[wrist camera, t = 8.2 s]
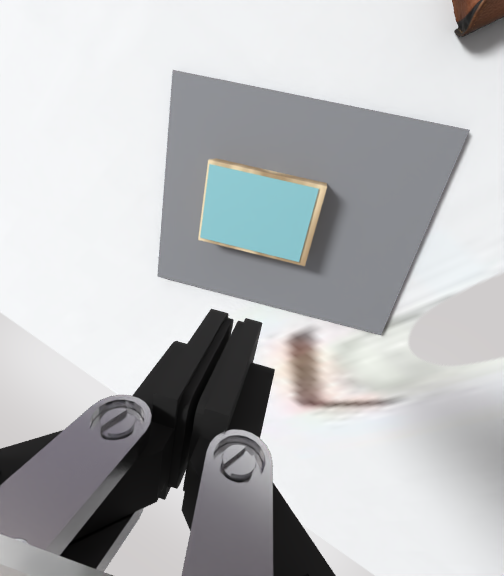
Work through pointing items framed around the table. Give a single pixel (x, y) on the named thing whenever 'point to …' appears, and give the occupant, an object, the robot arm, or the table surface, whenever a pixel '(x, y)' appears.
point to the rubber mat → (316, 166)
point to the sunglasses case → (476, 14)
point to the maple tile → (260, 210)
